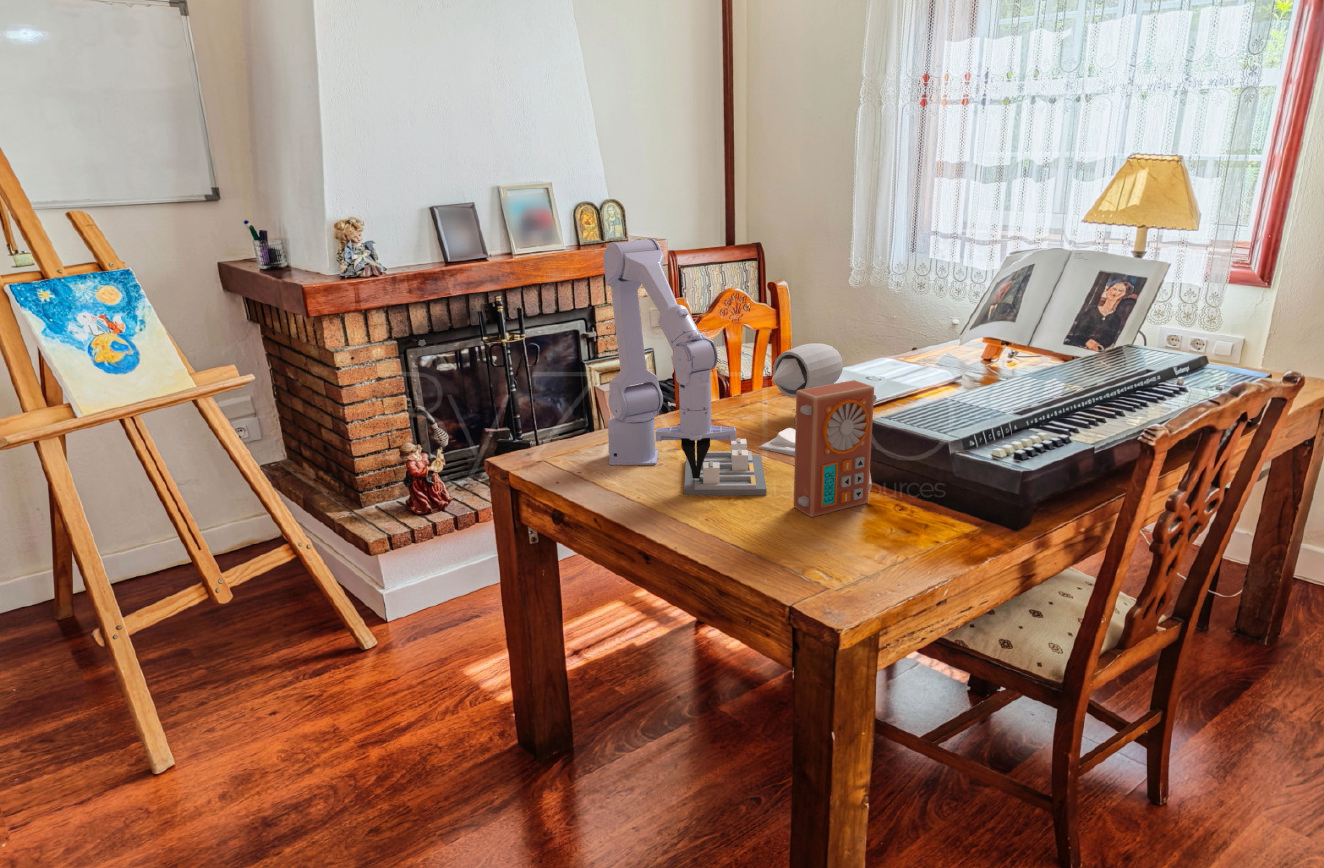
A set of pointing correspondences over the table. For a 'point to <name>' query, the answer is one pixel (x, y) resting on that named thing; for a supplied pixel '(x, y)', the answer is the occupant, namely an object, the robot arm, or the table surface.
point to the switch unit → (728, 477)
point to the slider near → (711, 472)
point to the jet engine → (806, 368)
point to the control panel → (833, 447)
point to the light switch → (782, 442)
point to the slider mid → (739, 460)
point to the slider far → (738, 445)
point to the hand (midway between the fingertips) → (696, 476)
